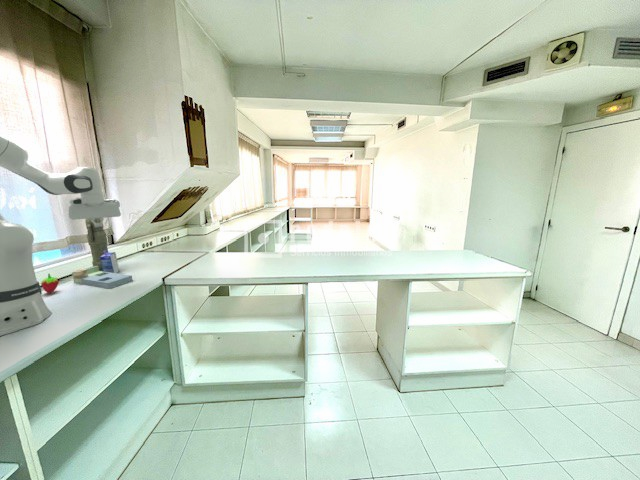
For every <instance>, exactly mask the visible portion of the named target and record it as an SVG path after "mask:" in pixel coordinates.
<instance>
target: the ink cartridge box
mask: <svg viewBox="0 0 640 480" xmlns="http://www.w3.org/2000/svg"><path fill="white" fill-rule="evenodd" d="M103 252H104V253H105V252H106V253H105V254H103V255H102V256H101V257H100V260H101V264H102V268H103V272H111V273H118V272H119V271H120V268H119V263H118V262H119V261H118V257H117V253H116V252H115V251H114V252H113V251H111V252H109V251H108V252H107V251H106V250H104V251H103Z"/></svg>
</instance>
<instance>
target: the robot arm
mask: <svg viewBox="0 0 640 480" xmlns="http://www.w3.org/2000/svg"><path fill="white" fill-rule="evenodd" d="M28 159H29V153H28V150H27V149H26V148H25V147H24V146H22V145H21V143H20V144H19V143H18V142H16V141H15V140H13V139H11V138H9V137H8V136H5V135H3V134H1V133H0V168H4V169H6V170H8V171H10V172H12V173H13V174H16V175H18V176H19V177H22V178H24V179H26V180H28V181H29V182H33V183H34V184H36V185H37V186H38V187H40V189H42V190H43V191H44V192H46V193H47V194H50V195H53V196H60V195H78V194H80V197H76V198H73V199H70V200H69V204H70V206H69V207H68V217H69V218H68V219H70V220H71V221H73V220H85V219H90V220H91V221H92V222H93V223H94V225H95V227H102V223H103V222H104V219H105V218H116V217H117V218H119V217H121V215H122V213H121V209H120V207H121V205H120V204H121V203H120V201H119V200H117V199H105V195H104V192H103V189H102V187H103V184H102V180H101V176H100V174H99V171H98V170H97V169H95V168H92V167H88V166H78V167H76V169H73V170H72V171H69V172H67V173H54V172H53V173H51V172H46V171H44V170H42V169H41V168H38V167H37V166H34V165H32V164H30V163H29V162H28ZM94 218H100V220H101V222H100V223H95V222H94V221H93V220H94ZM34 240H35V237H34V234H33V233H32V231H31V230H29V229H28V228H26V227H25V226H23V225H21V224H18V223H14V222H9V221H8V220H7V219H6V218H4V216H3V215H2V214H1V213H0V337H2V336H4V335H7V334H10V333H15V332H18V331H20V330H23V329H26V328H30V327H32V326H35V325H38V324H41V323H42V322H44V320H45V319H47V318H48V317H50V315H52V311H51V310H50V309H49V307H48V306H47V304H46V303H45V301H44V298H43V296H42V294H43V292H42V286H41V284H40V282H39V281H38V280H37V277H36V271H35V268H34V263H33V244H34Z"/></svg>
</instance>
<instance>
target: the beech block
mask: <svg viewBox="0 0 640 480" xmlns="http://www.w3.org/2000/svg"><path fill="white" fill-rule="evenodd" d="M72 272H73V273H74V278H75V279H83V278H86V277H88V276H89V275H88V271H87V270H86V268H83V269H78V270H74V271H72Z"/></svg>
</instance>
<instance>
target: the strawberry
mask: <svg viewBox="0 0 640 480" xmlns="http://www.w3.org/2000/svg"><path fill="white" fill-rule="evenodd" d="M47 274H48V275H47V277H46V278H44V279H43V280H41V282H40V287H41V288H42V289H43V290H44V291H45V292H46V293H48V294H51V293H53V292H55V291H56V290H57V287H58V285H59V283H60V282H59V279H58V278H57V277H55V276H53V277H52V276H51V274H50V273H47Z"/></svg>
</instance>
